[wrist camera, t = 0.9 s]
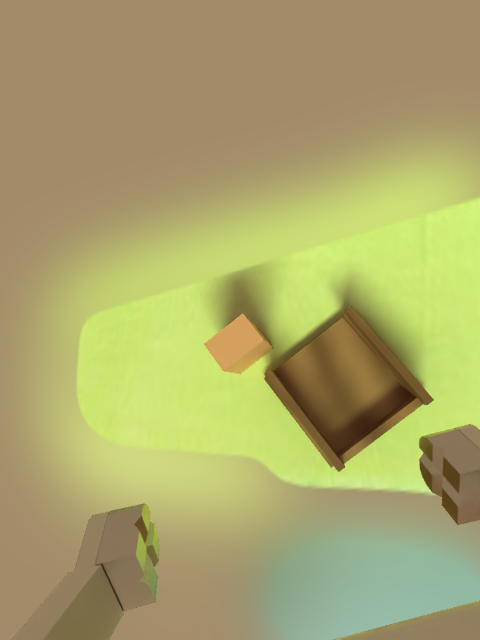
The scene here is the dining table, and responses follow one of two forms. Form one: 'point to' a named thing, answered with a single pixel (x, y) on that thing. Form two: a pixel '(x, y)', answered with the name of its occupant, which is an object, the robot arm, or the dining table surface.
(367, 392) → the walnut slot rack
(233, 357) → the terracotta block
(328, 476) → the dining table surface
